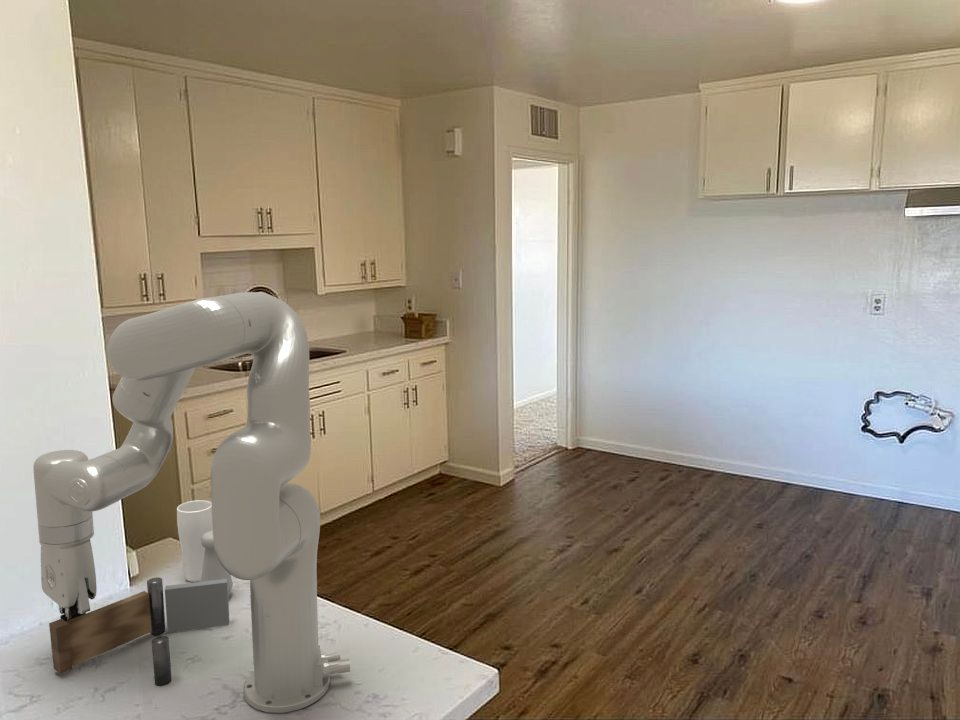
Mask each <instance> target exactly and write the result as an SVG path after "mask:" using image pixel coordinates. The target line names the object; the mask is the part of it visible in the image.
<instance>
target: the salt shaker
mask: <svg viewBox="0 0 960 720" xmlns="http://www.w3.org/2000/svg"><path fill="white" fill-rule="evenodd" d="M201 543H202V546H203V547H204V548H205V552H204V560H203V568H202V575H201V581H200V582H203V581H211V580H220V579H227V585H228V597H229V596H230V594H231V591H232V588H233V584H234V582H233V579H232V575H230V574H229V573H228V572H227V571H226V570H225V569H224V568H223V567H222V565H221V564H220V562H219V560H218V558H217V555H216V552H215V548H214V542H213V531H209V532H206V533H205V534H204V535H203V536H202V539H201Z"/></svg>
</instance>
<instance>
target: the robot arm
mask: <svg viewBox="0 0 960 720" xmlns="http://www.w3.org/2000/svg"><path fill="white" fill-rule="evenodd" d="M306 330H307V329H305V325H304V323H303V321H302V320H301V317H300V316H299V315H298V313H297V312H296V311H295V310H294V309H293V308H292V307H291V306H290V305H289V304H287V303H286V302H285V301H283V300H282V299H280V298H278V297H276V296H273V295H271V294H268V293H264V292H257V291H245V292H237V293H230V294H225V295H224V294H223V295H218V296H210V297H203V298H198V299H194V300H191V301H188V302H184V303H181V304H178V305H174V306H171V307H168V308H163V309H161V310H158V311H154V312H150V313H147V314H143V315H140V316H136V317H131V318H128V319H127V320H125V321H123V322H122V323H120V324H119V325H118V326H117V327H116V328H115V329H114V330H113V332H112V334H111V335H110V338H109V339H108V340H109V341H108V345H107V357H108V360H109V363H110V365H111V367H112V369H113V370H114V372H116V373H117V374H118V375H119V376H121V378H120V380H119V381H118V384H117V385H116V387H115V390H114V391H113V393H112V403H113V406H114V408H115V410H116V411H117V412H118V413H119V414H120V415H122V417H124V418H125V419H127V420H129V421H130V422H132V425H131V426H130V430H129V431H128V434H127V435H126V438H125V439H124V441H123V443H122V445H120V447H119V448H116V449H113V450H111V451H108V452H105V453H103V454H101V455H98V456H96V457H93V458H90V459H89V458H88V455H86V453H85V452H82V451H81V450H77V449H62V450H54V451H50V452H46V453H43V454H42V455H39V456H38V457H37V458H36V459H35V461H34V462H33V470H32V471H33V481H34V494H35V503H36V505H35V506H36V517H37V527H38V540H39V541H38V542H39V544H40V581H41V589H42V591H43V593H44V594H45V595H46V596H47V597H48V598H49V599H51V600H52V601H53V602H54V603H55V604H57V605H58V611H59V614H60V617H59V619H63V620H64V621H68V620H71V619H73V618H76V617H78V616H81V615H84V614H86V613H89V612H91V605H90V600H95V598H96V596H97V577H96V576H97V575H96V566H95V559H94V553H93V547H92V542H91V539H92V538H93V537H94V535H95V529H94V528H95V527H94V517H93V512H98V511H100V510H103V509H105V508H107V507H109V506H111V505H114V504H115V503H117V502H120V501H121V500H122V499H124V498H125V499H126V498H127V497H128V496H131V495H133V494H134V493H135V494H136V493H137V492H139V491H141V490H143V489H144V488H146V487H147V486H148V485H149V484H150V483H151V482H153V480H154V479H155V477H156V476H157V475H158V472H160V469H161V467H162V465H163V464H164V462H165V460H166V458H167V456H168V454H169V452H170V450H171V448H172V443H173V439H174V425H173V420H172V415H173V412H174V410H175V409H176V407H177V405H178V403H179V401H180V399H181V397H182V395H183V393H184V391H185V389H186V387H187V386H188V383H189V382H190V380H191V378H192V377H193V374H194V372H195V371H196V368H199V367H204V366H208V365H212V364H215V363H216V364H217V363H219V362H222V361H226V360H230V359H232V358H237V357H239V356H243V355H246V354H251V355H252V365H251V368H250V371H249V375H248V379H247V387H246V398H247V417H246V424H245V426H244V427H243V428H241V429H239V430H237V431H235V432H233V433H231V434H229V435H228V436H227V437H225V439H224V440H223V441H221V443H220V444H219V445H218V447H217V448H216V451H215V453H214V455H213V458H212V460H211V466H210V502H211V505H212V529H213V542H214V548H215V552H216V555H217V558H218V560H219V562H220V564H221V565H222V567H223V568H224V569H225V570H226V571H227V572H228V573H229V574H230V575H231V577H234V578H236V579H238V580H240V581H241V580H243V581H249V585H250V591H249V592H250V595H249V596H250V613H251V614H250V616H251V636H252V638H251V639H252V657H253V671H252V672H251V674H249V676H248V677H247V678H246V680H245V682H244V684H243V694H244V695H243V696H244V699H245V701H246V703H248V704H249V705H250V706H251V707H252V708H254V709H256V710H258V711H262V712H266V713H276V714H277V713H280V714H281V713H290V712H293V711H297V710H301V709H304V708H306V707H308V706H310V705H312V704H314V703H315V702H317V701H319V700H320V699H321V698H323V696H324V695H325V694H326V692H327V691H328V690H329V686H330V684H331V677H330V675H334V674H343V673H350V672H351V660H350V658H343V659H341V652H335V653H330V654H325V653H321V651H322V650H321V645H319V622H318V621H319V619H318V618H319V617H318V594H317V593H318V579H317V575H318V572H317V570H318V569H317V560H318V546H319V541H320V540H319V539H320V531H321V530H320V529H321V512H320V507H319V504H318V502H317V500H316V498H315V496H314V495H313V494H312V493H311V492H310V491H309V490H308V489H307V488H306V487H304V486H302V485H300V484H296V483H292V482H291V483H290V481H291V480H293V479H294V478H295V477H297V476H298V475H300V474H301V473H302V472H303V471H304V469H305V468H307V466H308V464H309V462H310V457H311V450H312V449H311V446H312V445H311V404H310V403H311V401H310V399H311V398H310V345H309V338H308V334H307V331H306ZM89 599H90V600H89Z"/></svg>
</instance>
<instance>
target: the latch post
mask: <svg viewBox="0 0 960 720" xmlns="http://www.w3.org/2000/svg"><path fill="white" fill-rule="evenodd" d="M170 649H171V648H170V637H169V636H168V635H164V634H162V635H159V636H154V638H152V639H151V650H152V651H151V652H152V665H153V666H152V667H153V679H154V686H155V687H164V686H168V685H169V684H171V682H172V680H173V679H172V677H173V676H172V665H171V664H172V663H171V651H170Z"/></svg>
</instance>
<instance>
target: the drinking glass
mask: <svg viewBox="0 0 960 720" xmlns="http://www.w3.org/2000/svg"><path fill="white" fill-rule="evenodd" d="M176 525H177V532H178V533H177V534H178V539H179V544H180V550H181V557H182V563H183V571H184V572H183V573H184V578H185V580H186V581H187V582H190V583H194V582H201V575H202V568H203V560H204V552H205V548H204V547H203V546H202V543H201V539H202V536H203V535H204V534H205V533H206V532H209V531H213V529H212V505H211V500H202V499H197V500H196V499H195V500H191V501H186V502H182V503H181V504H179V505H178V506H177V507H176Z"/></svg>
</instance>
